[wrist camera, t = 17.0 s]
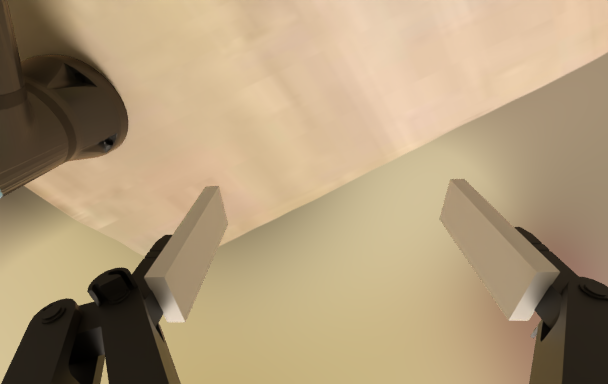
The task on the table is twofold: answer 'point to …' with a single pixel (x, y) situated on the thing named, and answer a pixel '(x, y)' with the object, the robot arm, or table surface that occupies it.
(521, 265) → the robot arm
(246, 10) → the table surface
